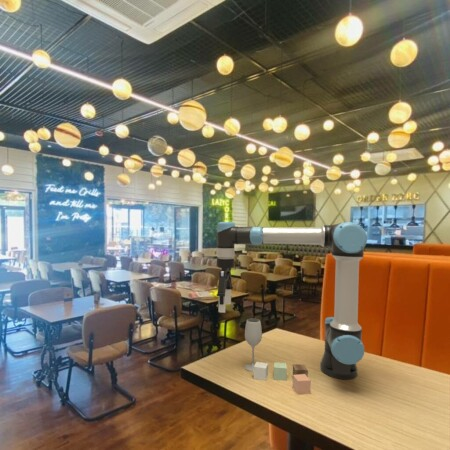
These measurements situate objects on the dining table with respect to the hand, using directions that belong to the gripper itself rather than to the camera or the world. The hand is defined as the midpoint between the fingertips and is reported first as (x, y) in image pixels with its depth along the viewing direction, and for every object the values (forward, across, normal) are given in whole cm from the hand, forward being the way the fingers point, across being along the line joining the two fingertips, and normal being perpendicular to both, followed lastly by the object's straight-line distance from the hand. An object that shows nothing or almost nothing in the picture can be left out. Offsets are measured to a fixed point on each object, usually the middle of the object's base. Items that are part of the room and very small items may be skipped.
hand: (225, 308), depth 129 cm
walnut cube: (+28, -2, +31) cm, 42 cm away
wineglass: (+28, -8, +11) cm, 31 cm away
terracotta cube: (+28, +7, +31) cm, 43 cm away
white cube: (+28, -1, +15) cm, 32 cm away
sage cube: (+28, -2, +23) cm, 36 cm away
